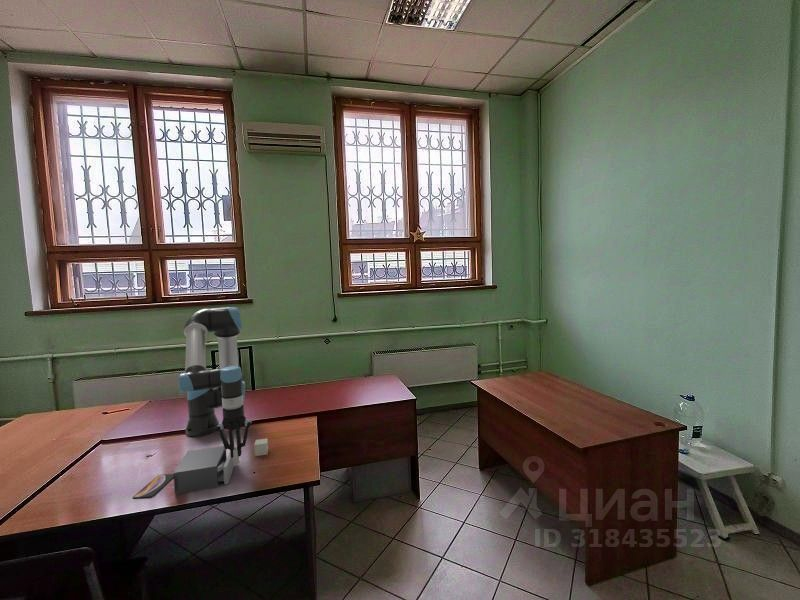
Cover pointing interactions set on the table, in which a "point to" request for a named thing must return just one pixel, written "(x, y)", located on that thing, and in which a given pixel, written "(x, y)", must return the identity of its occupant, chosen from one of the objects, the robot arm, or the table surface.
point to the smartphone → (154, 486)
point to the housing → (199, 470)
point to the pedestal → (261, 447)
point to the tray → (227, 469)
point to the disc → (220, 467)
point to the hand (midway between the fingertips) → (236, 464)
